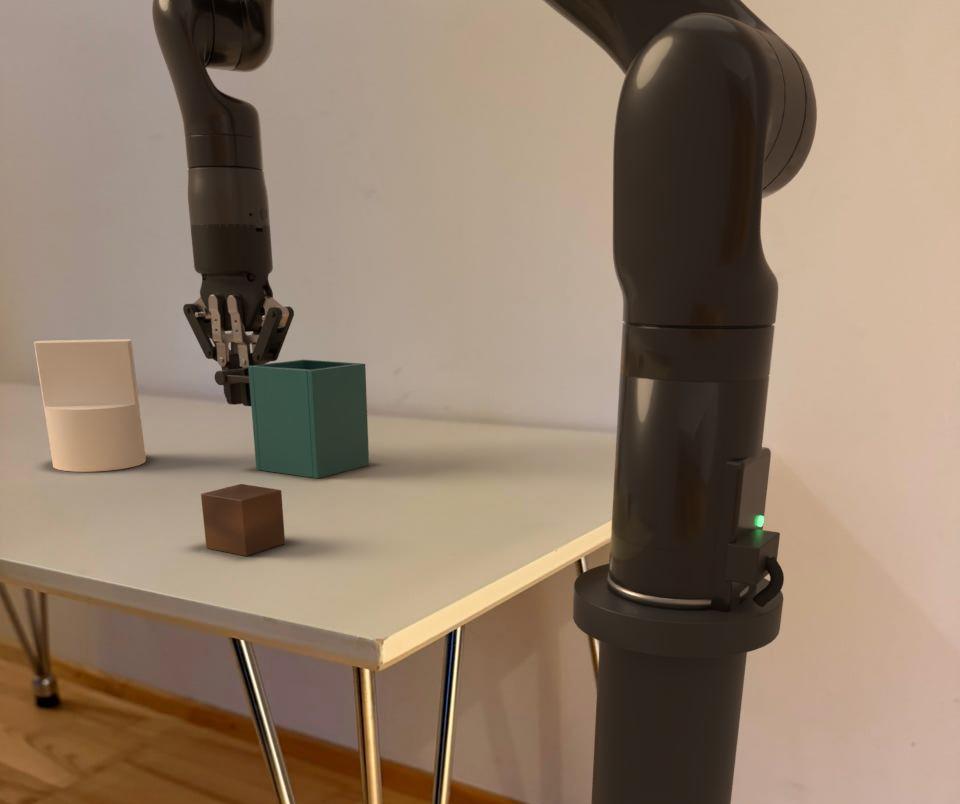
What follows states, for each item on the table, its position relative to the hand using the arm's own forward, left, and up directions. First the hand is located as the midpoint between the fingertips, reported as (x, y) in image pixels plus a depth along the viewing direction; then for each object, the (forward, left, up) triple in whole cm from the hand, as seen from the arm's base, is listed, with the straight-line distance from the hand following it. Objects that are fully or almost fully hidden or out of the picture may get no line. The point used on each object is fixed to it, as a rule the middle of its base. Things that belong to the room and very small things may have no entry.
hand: (244, 403), depth 101 cm
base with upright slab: (+11, +10, -6) cm, 16 cm away
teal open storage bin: (-13, 0, -1) cm, 13 cm away
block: (-24, +25, -6) cm, 35 cm away
